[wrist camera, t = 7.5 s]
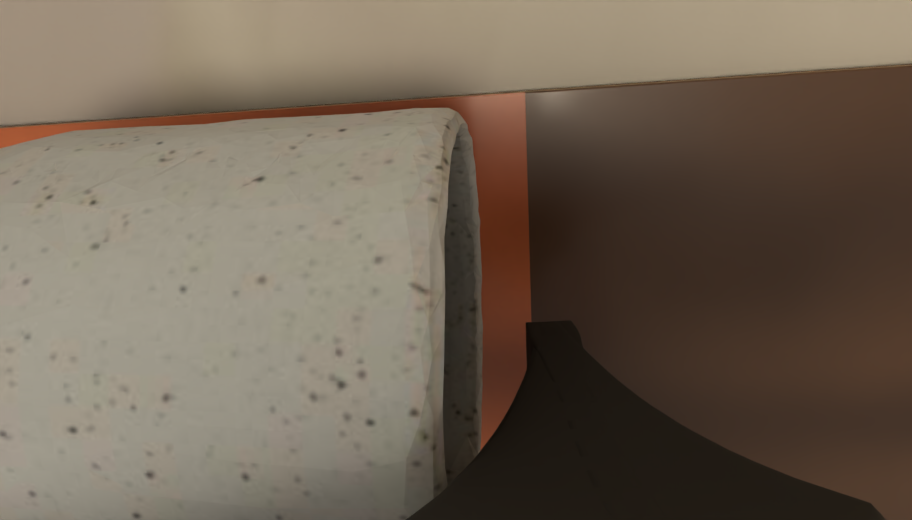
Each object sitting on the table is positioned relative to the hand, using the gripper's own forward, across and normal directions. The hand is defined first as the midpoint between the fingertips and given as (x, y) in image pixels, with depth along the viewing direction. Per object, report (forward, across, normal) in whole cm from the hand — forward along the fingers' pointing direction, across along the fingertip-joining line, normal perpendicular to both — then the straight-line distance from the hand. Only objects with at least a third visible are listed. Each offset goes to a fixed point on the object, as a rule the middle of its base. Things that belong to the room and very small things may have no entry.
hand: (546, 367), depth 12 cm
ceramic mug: (+3, +5, 0) cm, 6 cm away
